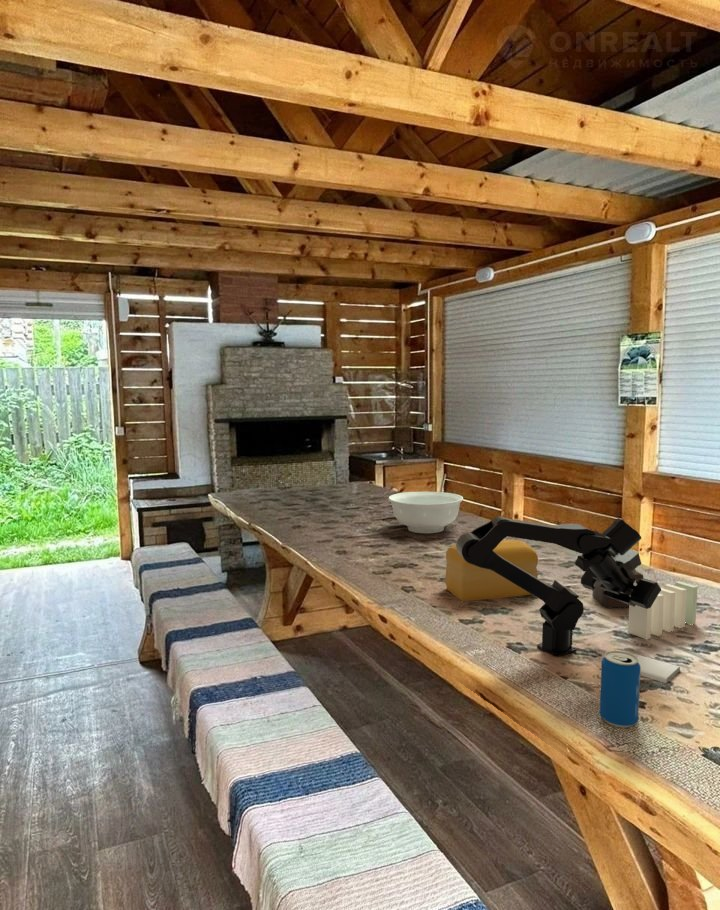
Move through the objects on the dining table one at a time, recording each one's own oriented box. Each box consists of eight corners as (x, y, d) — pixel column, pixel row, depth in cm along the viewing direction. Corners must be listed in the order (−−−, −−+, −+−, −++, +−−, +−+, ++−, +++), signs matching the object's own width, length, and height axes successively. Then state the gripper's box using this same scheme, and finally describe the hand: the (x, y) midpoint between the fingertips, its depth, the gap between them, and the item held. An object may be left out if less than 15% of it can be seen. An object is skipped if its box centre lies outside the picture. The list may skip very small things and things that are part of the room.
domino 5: (691, 625, 158) (693, 587, 157) (673, 619, 162) (675, 582, 161) (695, 624, 159) (697, 586, 158) (677, 618, 163) (679, 581, 162)
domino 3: (669, 632, 154) (671, 593, 153) (651, 625, 158) (653, 587, 157) (673, 631, 154) (675, 592, 153) (655, 624, 159) (657, 586, 158)
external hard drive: (666, 686, 127) (606, 667, 136) (679, 673, 133) (621, 655, 141) (666, 678, 127) (606, 659, 136) (680, 666, 133) (622, 649, 141)
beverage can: (630, 734, 108) (633, 668, 107) (594, 721, 112) (596, 657, 111) (642, 719, 113) (645, 656, 112) (607, 707, 117) (609, 646, 116)
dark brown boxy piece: (645, 608, 171) (648, 544, 169) (606, 608, 170) (609, 545, 169) (620, 590, 186) (622, 531, 184) (583, 590, 186) (586, 532, 184)
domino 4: (680, 628, 156) (682, 590, 155) (662, 622, 160) (664, 584, 159) (684, 627, 157) (686, 589, 156) (666, 621, 161) (668, 584, 160)
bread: (461, 601, 177) (462, 550, 175) (444, 588, 189) (445, 540, 188) (538, 594, 183) (539, 545, 181) (516, 581, 195) (518, 535, 194)
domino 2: (657, 635, 152) (659, 596, 150) (639, 629, 156) (641, 590, 155) (662, 634, 152) (663, 595, 151) (644, 627, 157) (645, 589, 156)
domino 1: (646, 639, 149) (647, 599, 148) (628, 632, 154) (629, 593, 153) (650, 638, 150) (652, 598, 149) (632, 631, 154) (634, 592, 153)
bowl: (372, 529, 269) (372, 496, 268) (422, 519, 291) (422, 488, 290) (429, 542, 246) (429, 506, 244) (478, 530, 268) (478, 496, 266)
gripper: (657, 548, 137) (686, 588, 144) (589, 532, 154) (618, 568, 160) (632, 588, 134) (663, 627, 141) (566, 567, 151) (596, 603, 157)
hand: (634, 604), depth 150 cm, fingers closed
